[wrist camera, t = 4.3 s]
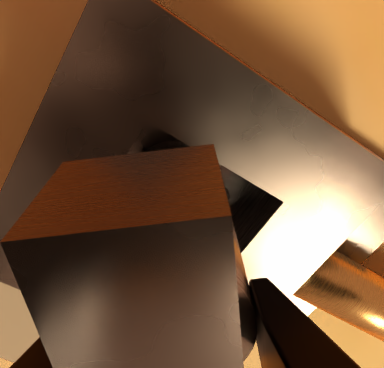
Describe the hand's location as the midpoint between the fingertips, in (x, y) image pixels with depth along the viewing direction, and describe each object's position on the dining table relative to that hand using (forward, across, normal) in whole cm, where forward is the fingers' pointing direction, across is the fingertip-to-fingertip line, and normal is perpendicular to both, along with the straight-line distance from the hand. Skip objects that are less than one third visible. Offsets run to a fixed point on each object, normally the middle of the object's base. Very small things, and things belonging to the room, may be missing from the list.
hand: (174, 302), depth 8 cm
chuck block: (+7, -4, +3) cm, 9 cm away
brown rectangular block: (+6, 0, 0) cm, 6 cm away
